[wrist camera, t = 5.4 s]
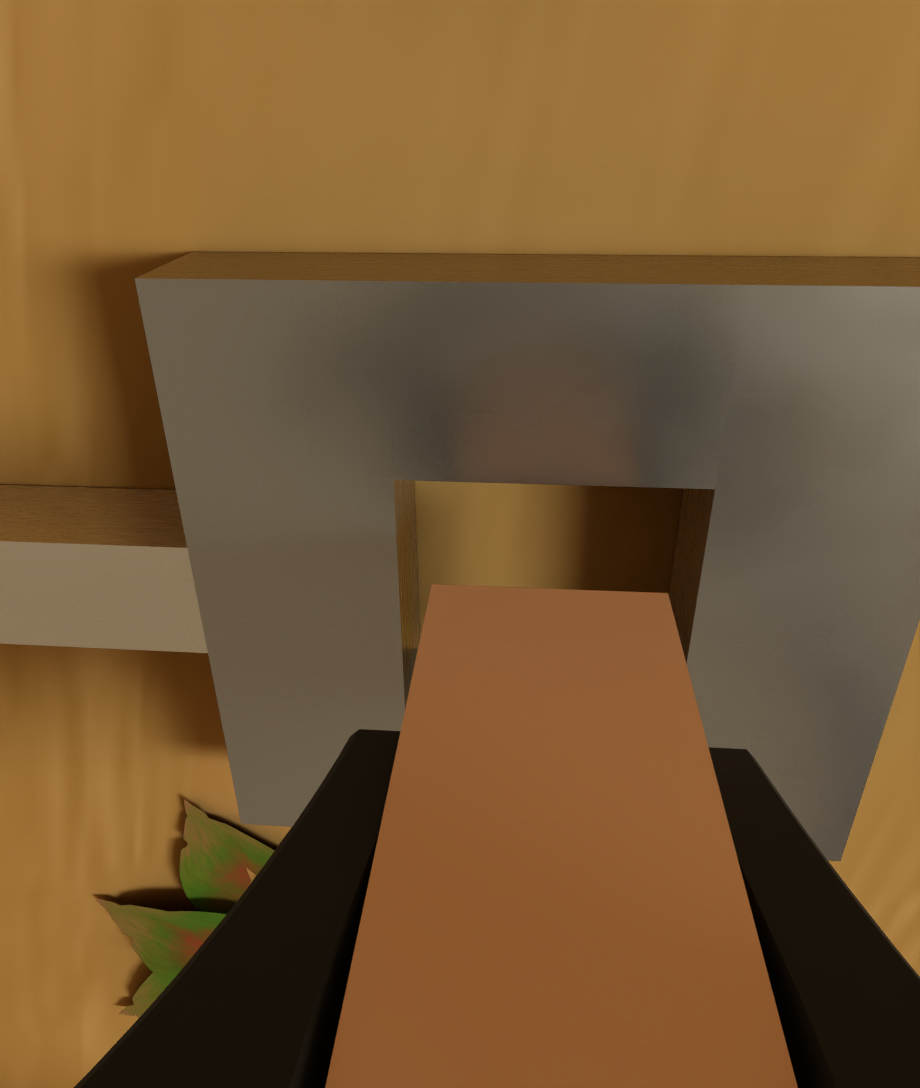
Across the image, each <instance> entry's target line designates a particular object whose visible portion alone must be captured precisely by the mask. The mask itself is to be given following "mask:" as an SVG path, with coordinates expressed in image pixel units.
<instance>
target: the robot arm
mask: <svg viewBox="0 0 920 1088" xmlns="http://www.w3.org/2000/svg"><path fill="white" fill-rule="evenodd" d="M400 732H401V731H387V730H368V729H359V730H358V731H356V732H355V733H354V734H352V735H351V736H350V737H349V739H348V741H347V743H346V744H345V746H344V748H343V749H342V751H341V753H340V755H339V756H338V758H337V759H336V761H335V763H334V764H333V766H332V768H331V769H330V771H329V772H328V774H327V776H326V777H325V779H324V780H323V782H322V783H321V785H320V786H319V788H318V789H317V791H316V793H315V794H314V796H313V797H312V799H311V800H310V802H309V803H308V804H307V806H306V807H305V809H304V810H303V812H302V813H301V815H300V816H299V818H298V819H297V821H296V822H295V824H294V825H293V826H292V828H291V829H290V831H289V832H288V833H287V835H286V836H285V838H284V839H283V840H282V842H281V843H280V844H279V846H278V847H277V848H276V850H275V851H274V853H273V854H272V855H271V857H270V858H269V859H268V861H267V862H266V864H265V865H264V866H263V868H262V869H261V870H260V872H259V873H258V874H257V876H256V877H255V879H254V880H253V881H252V883H251V884H250V885H249V887H248V888H247V889H246V891H245V892H244V893H243V894H242V896H241V897H240V898H239V900H238V901H237V902H236V903H235V905H234V906H233V907H232V908H231V910H230V911H229V912H228V913H227V914H226V916H225V917H224V918H223V919H222V921H221V922H220V923H219V924H218V926H217V927H216V928H215V929H214V930H213V932H212V933H211V934H210V935H209V937H208V938H207V939H206V940H205V942H204V943H203V944H202V945H201V946H200V948H199V949H198V950H197V951H196V953H195V954H194V955H193V956H192V958H191V959H190V960H189V961H188V962H187V964H186V965H185V966H184V967H183V969H182V970H181V971H180V972H179V973H178V974H177V976H176V977H175V978H174V979H173V980H172V981H171V982H170V984H169V985H168V986H167V987H166V988H165V989H164V991H163V992H162V993H161V994H160V995H159V996H158V997H157V999H156V1000H155V1001H154V1002H153V1003H152V1004H151V1005H150V1007H149V1008H148V1009H147V1010H146V1011H145V1012H144V1013H143V1014H142V1015H141V1017H140V1018H139V1019H138V1020H137V1021H136V1022H135V1023H134V1024H133V1025H132V1027H131V1028H130V1029H129V1030H128V1031H127V1032H126V1033H125V1034H124V1035H123V1036H122V1037H121V1038H120V1039H119V1041H118V1042H117V1043H116V1044H115V1045H114V1046H113V1047H112V1048H111V1049H110V1050H109V1051H108V1052H107V1053H106V1054H105V1056H104V1057H103V1058H102V1059H101V1060H100V1061H99V1062H98V1063H97V1064H96V1065H95V1066H94V1067H93V1068H92V1069H91V1071H90V1072H89V1073H88V1074H87V1075H86V1076H85V1077H84V1078H83V1079H82V1080H81V1081H80V1082H79V1083H78V1084H77V1085H76V1086H75V1087H74V1088H325V1086H326V1081H327V1077H328V1072H329V1067H330V1062H331V1058H332V1053H333V1048H334V1044H335V1039H336V1034H337V1029H338V1025H339V1020H340V1015H341V1010H342V1006H343V1001H344V996H345V992H346V987H347V982H348V977H349V973H350V968H351V963H352V958H353V954H354V949H355V944H356V940H357V935H358V930H359V925H360V921H361V916H362V911H363V906H364V902H365V897H366V892H367V888H368V883H369V878H370V873H371V869H372V864H373V859H374V855H375V850H376V845H377V840H378V836H379V831H380V826H381V821H382V817H383V812H384V807H385V803H386V798H387V793H388V788H389V784H390V779H391V774H392V769H393V765H394V760H395V755H396V751H397V746H398V741H399V736H400ZM708 748H709V751H710V755H711V759H712V763H713V767H714V770H715V774H716V778H717V782H718V786H719V790H720V793H721V797H722V801H723V805H724V809H725V812H726V816H727V820H728V824H729V828H730V831H731V835H732V839H733V843H734V847H735V850H736V854H737V858H738V862H739V866H740V870H741V873H742V877H743V881H744V885H745V889H746V892H747V896H748V900H749V904H750V908H751V911H752V915H753V919H754V923H755V927H756V930H757V934H758V938H759V942H760V946H761V950H762V953H763V957H764V961H765V965H766V969H767V972H768V976H769V980H770V984H771V988H772V991H773V995H774V999H775V1003H776V1007H777V1010H778V1014H779V1018H780V1022H781V1026H782V1030H783V1033H784V1037H785V1041H786V1045H787V1049H788V1052H789V1056H790V1060H791V1064H792V1068H793V1071H794V1075H795V1079H796V1083H797V1087H798V1088H920V977H919V975H918V974H917V973H916V972H915V971H914V969H913V968H912V967H911V966H910V965H909V963H908V962H907V961H906V960H905V958H904V957H903V956H902V955H901V954H900V952H899V951H898V950H897V949H896V948H895V946H894V945H893V944H892V943H891V941H890V940H889V939H888V937H887V936H886V935H885V934H884V932H883V931H882V930H881V929H880V927H879V926H878V925H877V923H876V922H875V921H874V920H873V918H872V917H871V916H870V915H869V913H868V912H867V911H866V910H865V908H864V907H863V906H862V904H861V903H860V902H859V901H858V899H857V898H856V897H855V896H854V894H853V893H852V892H851V890H850V889H849V888H848V887H847V885H846V884H845V883H844V881H843V880H842V879H841V877H840V876H839V875H838V873H837V872H836V871H835V870H834V868H833V867H832V866H831V864H830V863H829V862H828V860H827V859H826V858H825V856H824V855H823V853H822V852H821V851H820V849H819V848H818V847H817V845H816V844H815V843H814V841H813V840H812V838H811V837H810V836H809V834H808V833H807V832H806V830H805V829H804V827H803V826H802V825H801V823H800V822H799V821H798V819H797V818H796V816H795V815H794V814H793V812H792V811H791V809H790V808H789V807H788V805H787V804H786V802H785V801H784V799H783V798H782V797H781V795H780V794H779V792H778V791H777V789H776V788H775V787H774V785H773V784H772V782H771V781H770V779H769V778H768V776H767V775H766V774H765V772H764V771H763V769H762V768H761V766H760V765H759V763H758V762H757V760H756V759H755V758H754V757H753V756H752V755H751V753H750V752H749V751H748V750H747V749H733V748H714V747H708Z"/></svg>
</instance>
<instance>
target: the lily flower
mask: <svg viewBox="0 0 920 1088" xmlns="http://www.w3.org/2000/svg"><path fill="white" fill-rule="evenodd" d="M184 805H185V811H186V814H187V815H188V816H187V817H186V819H185V827H184V834H183V838H184V840H185V841H187V843H188V845H187V846H186V847H185V848H183V849H182V850H181V855H180V868H179V874H180V879H181V883H182V887H183V889H184V892H185V894H186V896H187V897H188V899H189V900H190V902H191V903H192V904H193V905H194V906H195V907H196V909H197V910H198V911H170V912H168V911H163V910H158V909H153V908H147V907H140V906H134V905H127V906H126V905H121V906H120V905H118V904H116V903H114V902H110V901H105V900H101V899H97V898H95V899H96V900H97V901H98V902H99V903H100V904H101V905H102V906H103V907H104V908H105V909H106V910H108V911H110V915H111V917H112V918H113V920H114V921H115V922H116V924H117V925H118V927H119V928H120V930H121V931H122V932H123V934H125V935H127V936H130V937H132V940H133V942H132V947H133V948H134V950H135V951H136V953H137V954H138V955H139V957H140V958H141V959H142V961H143V962H144V963H145V965H146V966H147V967H148V968H149V969H150V970H151V971H152V972H153V973H152V974H151V975H150V976H149V977H148V978H147V979H146V981H145V982H144V983H143V984H142V985H141V986H140V987H139V989H138V990H137V992H136V993H135V995H134V996H133V998H132V1000H133V1001H132V1002H133V1003H134V1005H132V1006H131V1005H129V1006H127V1007H126V1008H125V1009H124V1010H122V1011H121V1012H120V1013H118V1014H125V1015H133V1016H135V1015H136V1016H137V1017H141V1015H142V1014H143V1013H144V1012H145V1011H146V1010H147V1009H148V1008H149V1007H150V1005H151V1004H152V1003H153V1002H154V1001H155V1000H156V999H157V997H158V996H159V995H160V994H161V993H162V992H163V991H164V989H165V988H166V987H167V986H168V985H169V984H170V982H171V981H172V980H173V979H174V978H175V977H176V976H177V974H178V973H179V972H180V971H181V970H182V969H183V967H184V966H185V965H186V964H187V962H188V961H189V960H190V959H191V958H192V956H193V955H194V954H195V953H196V951H197V950H198V949H199V948H200V946H201V945H202V944H203V943H204V942H205V940H206V939H207V938H208V937H209V935H210V934H211V933H212V932H213V930H214V929H215V928H216V927H217V926H218V924H219V923H220V922H221V921H222V919H223V918H224V917H225V916H226V914H227V913H228V912H229V911H230V910H231V908H232V907H233V906H234V905H235V903H236V902H237V901H238V900H239V898H240V897H241V896H242V894H243V893H244V892H245V891H246V889H247V888H248V887H249V884H250V882H251V880H250V877H249V874H248V872H247V869H246V867H247V868H248V869H249V870H250V871H252V872H253V873H254V874H256V875H257V874H258V873H259V872H260V870H261V869H262V868H263V866H264V865H265V864H266V862H267V861H268V859H269V858H270V857H271V855H272V854H273V853H274V851H275V850H273V849H271V848H269V847H268V846H266V845H264V844H262V843H261V842H259V841H257V840H255V839H253V838H252V837H250V836H248V835H246V834H244V833H242V832H240V831H238V830H237V829H235V828H233V827H231V826H229V825H227V824H225V823H221V822H218V821H216V820H212V819H210V818H208V817H207V816H206V815H207V814H205V813H204V812H202V811H201V810H199V809H198V808H196V807H195V806H193V805H192V804H190V803H189V802H187V801H186V800H184Z"/></svg>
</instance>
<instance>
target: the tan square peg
mask: <svg viewBox="0 0 920 1088" xmlns="http://www.w3.org/2000/svg"><path fill="white" fill-rule="evenodd" d="M325 1088H798V1087H797V1083H796V1079H795V1075H794V1071H793V1068H792V1064H791V1060H790V1056H789V1052H788V1049H787V1045H786V1041H785V1037H784V1033H783V1030H782V1026H781V1022H780V1018H779V1014H778V1010H777V1007H776V1003H775V999H774V995H773V991H772V988H771V984H770V980H769V976H768V972H767V969H766V965H765V961H764V957H763V953H762V950H761V946H760V942H759V938H758V934H757V930H756V927H755V923H754V919H753V915H752V911H751V908H750V904H749V900H748V896H747V892H746V889H745V885H744V881H743V877H742V873H741V870H740V866H739V862H738V858H737V854H736V850H735V847H734V843H733V839H732V835H731V831H730V828H729V824H728V820H727V816H726V812H725V809H724V805H723V801H722V797H721V793H720V790H719V786H718V782H717V778H716V774H715V770H714V767H713V763H712V759H711V755H710V751H709V748H708V744H707V740H706V736H705V732H704V729H703V725H702V721H701V717H700V713H699V710H698V706H697V702H696V698H695V694H694V690H693V687H692V683H691V679H690V675H689V671H688V668H687V664H686V660H685V656H684V652H683V649H682V645H681V641H680V637H679V633H678V630H677V626H676V622H675V618H674V614H673V611H672V607H671V603H670V599H669V595H668V593H651V592H624V591H598V590H571V589H544V588H517V587H490V586H463V585H437V584H432V585H431V590H430V595H429V599H428V604H427V609H426V613H425V618H424V623H423V628H422V632H421V637H420V642H419V647H418V651H417V656H416V661H415V665H414V670H413V675H412V680H411V684H410V689H409V694H408V699H407V703H406V708H405V713H404V717H403V722H402V727H401V732H400V736H399V741H398V746H397V751H396V755H395V760H394V765H393V769H392V774H391V779H390V784H389V788H388V793H387V798H386V803H385V807H384V812H383V817H382V821H381V826H380V831H379V836H378V840H377V845H376V850H375V855H374V859H373V864H372V869H371V873H370V878H369V883H368V888H367V892H366V897H365V902H364V906H363V911H362V916H361V921H360V925H359V930H358V935H357V940H356V944H355V949H354V954H353V958H352V963H351V968H350V973H349V977H348V982H347V987H346V992H345V996H344V1001H343V1006H342V1010H341V1015H340V1020H339V1025H338V1029H337V1034H336V1039H335V1044H334V1048H333V1053H332V1058H331V1062H330V1067H329V1072H328V1077H327V1081H326V1086H325Z"/></svg>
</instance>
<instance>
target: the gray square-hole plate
mask: <svg viewBox="0 0 920 1088" xmlns="http://www.w3.org/2000/svg"><path fill="white" fill-rule="evenodd" d="M135 284H136V289H137V294H138V299H139V304H140V309H141V314H142V319H143V324H144V330H145V335H146V340H147V345H148V350H149V355H150V360H151V365H152V370H153V375H154V381H155V386H156V391H157V396H158V401H159V406H160V411H161V416H162V421H163V426H164V432H165V437H166V442H167V447H168V452H169V457H170V462H171V467H172V472H173V477H174V483H175V488H176V490H156V489H124V488H92V487H60V486H27V485H0V644H21V645H42V646H64V647H85V648H107V649H128V650H150V651H171V652H192V653H208V656H209V661H210V666H211V671H212V676H213V682H214V687H215V692H216V697H217V702H218V707H219V712H220V717H221V722H222V728H223V733H224V738H225V743H226V748H227V753H228V758H229V763H230V768H231V773H232V779H233V784H234V789H235V794H236V799H237V804H238V809H239V814H240V819H241V824H256V825H272V826H288V827H292V826H293V825H294V824H295V822H296V821H297V819H298V818H299V816H300V815H301V813H302V812H303V810H304V809H305V807H306V806H307V804H308V803H309V802H310V800H311V799H312V797H313V796H314V794H315V793H316V791H317V789H318V788H319V786H320V785H321V783H322V782H323V780H324V779H325V777H326V776H327V774H328V772H329V771H330V769H331V768H332V766H333V764H334V763H335V761H336V759H337V758H338V756H339V755H340V753H341V751H342V749H343V748H344V746H345V744H346V743H347V741H348V739H349V737H350V736H351V735H352V734H354V733H355V732H356V731H358V730H359V729H368V730H387V731H401V727H402V722H403V717H404V713H405V708H406V703H407V699H408V694H409V689H410V684H411V680H412V675H413V670H414V665H415V661H416V656H417V651H418V647H419V642H420V624H419V597H418V570H417V543H416V516H415V489H414V480H417V481H451V482H485V483H519V484H553V485H587V486H621V487H655V488H684V490H683V497H682V504H681V511H680V518H679V525H678V532H677V539H676V546H675V553H674V560H673V567H672V574H671V581H670V588H669V599H670V603H671V607H672V611H673V614H674V618H675V622H676V626H677V630H678V633H679V637H680V641H681V645H682V649H683V652H684V656H685V660H686V664H687V668H688V671H689V675H690V679H691V683H692V687H693V690H694V694H695V698H696V702H697V706H698V710H699V713H700V717H701V721H702V725H703V729H704V732H705V736H706V740H707V744H708V747H714V748H733V749H747V750H748V751H749V752H750V753H751V755H752V756H753V757H754V758H755V759H756V760H757V762H758V763H759V765H760V766H761V768H762V769H763V771H764V772H765V774H766V775H767V776H768V778H769V779H770V781H771V782H772V784H773V785H774V787H775V788H776V789H777V791H778V792H779V794H780V795H781V797H782V798H783V799H784V801H785V802H786V804H787V805H788V807H789V808H790V809H791V811H792V812H793V814H794V815H795V816H796V818H797V819H798V821H799V822H800V823H801V825H802V826H803V827H804V829H805V830H806V832H807V833H808V834H809V836H810V837H811V838H812V840H813V841H814V843H815V844H816V845H817V847H818V848H819V849H820V851H821V852H822V853H823V855H824V856H825V858H826V859H827V860H830V861H841V857H842V854H843V851H844V848H845V845H846V842H847V839H848V836H849V833H850V830H851V827H852V824H853V821H854V818H855V815H856V812H857V809H858V806H859V803H860V800H861V796H862V793H863V790H864V787H865V784H866V781H867V778H868V775H869V772H870V769H871V766H872V763H873V760H874V757H875V754H876V751H877V748H878V745H879V742H880V738H881V735H882V732H883V729H884V726H885V723H886V720H887V717H888V714H889V711H890V708H891V705H892V702H893V699H894V696H895V693H896V690H897V687H898V684H899V680H900V677H901V674H902V671H903V668H904V665H905V662H906V659H907V656H908V653H909V650H910V647H911V644H912V641H913V638H914V635H915V632H916V629H917V626H918V622H919V619H920V258H898V257H775V256H652V255H529V254H407V253H284V252H190V253H188V254H186V255H184V256H182V257H180V258H177V259H175V260H173V261H171V262H169V263H167V264H164V265H162V266H160V267H158V268H156V269H154V270H152V271H149V272H147V273H145V274H143V275H141V276H139V277H136V278H135Z"/></svg>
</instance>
